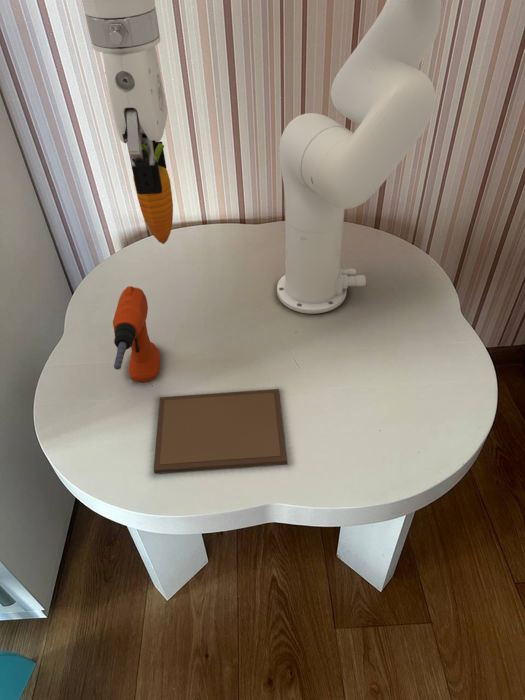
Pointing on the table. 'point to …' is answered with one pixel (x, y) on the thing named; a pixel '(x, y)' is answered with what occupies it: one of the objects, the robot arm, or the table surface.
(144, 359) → the toy drill
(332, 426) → the table surface
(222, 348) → the table surface
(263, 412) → the mat
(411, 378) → the table surface
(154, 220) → the carrot
